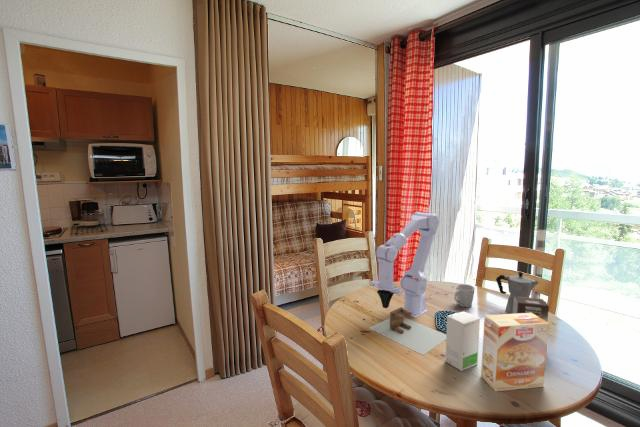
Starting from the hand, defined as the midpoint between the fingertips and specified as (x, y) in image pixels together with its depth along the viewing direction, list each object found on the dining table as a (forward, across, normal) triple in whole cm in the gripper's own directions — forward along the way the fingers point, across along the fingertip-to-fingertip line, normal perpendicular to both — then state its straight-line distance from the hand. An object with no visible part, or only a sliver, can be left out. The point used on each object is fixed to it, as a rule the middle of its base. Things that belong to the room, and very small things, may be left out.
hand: (385, 307), depth 127 cm
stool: (+6, +7, 0) cm, 10 cm away
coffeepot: (+7, +31, +49) cm, 58 cm away
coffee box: (+7, +43, +25) cm, 50 cm away
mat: (+7, +11, 0) cm, 13 cm away
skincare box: (+7, +33, -3) cm, 34 cm away
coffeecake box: (+7, +47, -1) cm, 47 cm away
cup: (+7, +13, +39) cm, 42 cm away
